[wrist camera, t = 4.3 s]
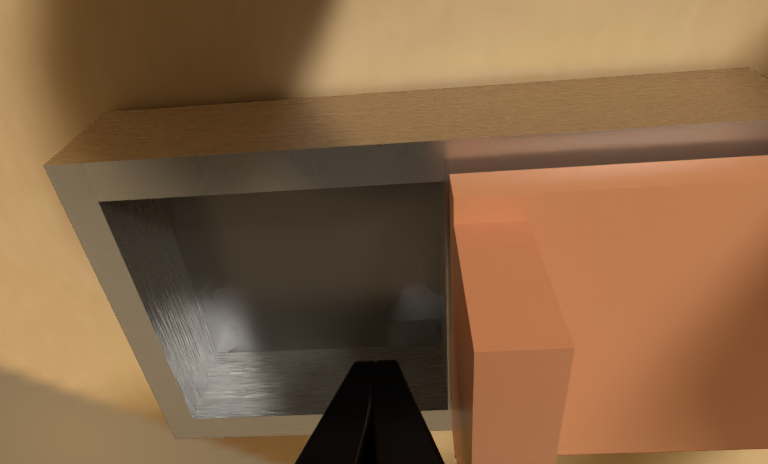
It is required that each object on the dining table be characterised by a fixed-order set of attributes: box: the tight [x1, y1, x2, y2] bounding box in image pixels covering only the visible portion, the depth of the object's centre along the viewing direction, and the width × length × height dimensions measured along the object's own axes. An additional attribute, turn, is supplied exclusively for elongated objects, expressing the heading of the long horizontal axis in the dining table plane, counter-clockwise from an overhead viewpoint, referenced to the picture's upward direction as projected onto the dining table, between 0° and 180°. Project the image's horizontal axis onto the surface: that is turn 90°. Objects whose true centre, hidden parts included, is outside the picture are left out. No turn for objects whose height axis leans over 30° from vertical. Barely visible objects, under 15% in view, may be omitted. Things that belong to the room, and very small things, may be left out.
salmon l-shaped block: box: [449, 155, 768, 464], centre depth 10 cm, size 7×7×4 cm
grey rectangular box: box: [43, 67, 768, 439], centre depth 13 cm, size 13×8×2 cm, turn 94°
